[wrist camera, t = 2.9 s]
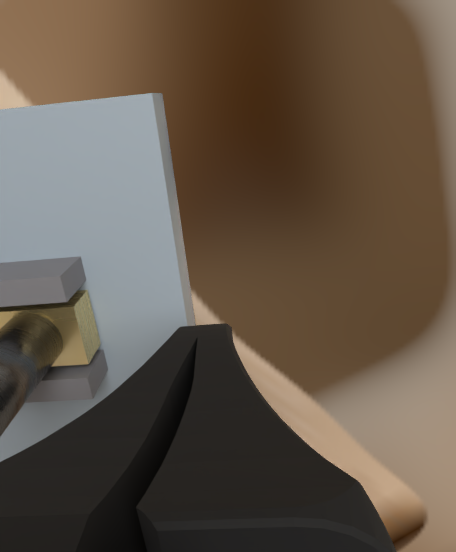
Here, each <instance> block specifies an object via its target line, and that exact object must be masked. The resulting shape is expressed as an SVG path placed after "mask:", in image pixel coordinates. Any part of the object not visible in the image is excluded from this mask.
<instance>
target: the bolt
mask: <svg viewBox="0 0 456 552" xmlns="http://www.w3.org/2000/svg"><path fill="white" fill-rule="evenodd" d="M100 344H101V343H100V339H99V335H98V331H97V327H96V322H95V318H94V314H93V310H92V306H91V302H90V298H89V294H88V290H78V291H76V292H75V294H74V295H73V296H72V297H71V298H70V299H69V300H68V302H62V303H49V304H35V305H21V306H7V307H0V437H1V435H2V434H3V432H4V431H5V430H6V428H7V427H8V426H9V424H10V423H11V421H12V420H13V419H14V417H15V416H16V415H17V413H18V412H19V410H20V409H21V408H22V406H23V405H24V403H25V402H26V401H27V399H28V398H29V397H30V395H31V394H32V392H33V391H34V390H35V388H36V387H37V385H38V384H39V383H40V381H41V380H42V379H43V377H44V376H45V374H46V373H47V372H48V370H49V369H50V368H51V366H67V365H84V364H89V363H90V361H91V359H92V358H93V356H94V354H95V352H96V351H97V349H98V347H99V346H100Z"/></svg>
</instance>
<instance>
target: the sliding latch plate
mask: <svg viewBox="0 0 456 552" xmlns="http://www.w3.org/2000/svg"><path fill="white" fill-rule="evenodd" d="M78 290H88V294H89V298H90V302H91V306H92V310H93V314H94V318H95V322H96V327H97V331H98V335H99V339H100V343H101V344H100V346H99V347H98V349H97V351H96V352H95V354H94V356H93V358H92V359H91V361H90V363H89V364H84V365H67V366H51V368H50V369H49V370H48V372H47V373H46V374H45V376H44V377H43V379H42V380H41V381H40V383H39V384H38V385H37V387H36V388H35V390H34V391H33V392H32V394H31V395H30V397H29V398H28V399H27V401H26V402H25V403H24V405H23V406H22V408H21V409H20V410H19V412H18V413H17V415H16V416H15V417H14V419H13V420H12V421H11V423H10V424H9V426H8V427H7V428H6V430H5V431H4V432H3V434H2V435H1V437H0V462H1V461H3V460H5V459H7V458H9V457H11V456H13V455H15V454H17V453H19V452H21V451H23V450H24V449H26V448H28V447H30V446H32V445H34V444H35V443H37V442H39V441H41V440H43V439H44V438H46V437H48V436H49V435H51V434H52V433H54V432H56V431H57V430H59V429H60V428H62V427H64V426H65V425H67V424H68V423H70V422H72V421H73V420H75V419H76V418H78V417H79V416H81V415H82V414H84V413H85V412H87V411H88V410H89V409H91V408H92V407H94V406H95V405H96V404H98V403H99V402H100V401H102V400H103V399H104V398H106V397H107V396H108V395H109V394H111V393H112V392H113V391H114V390H116V389H117V388H118V387H119V386H120V385H121V384H122V383H124V382H125V381H126V380H127V379H128V378H129V377H130V376H131V375H132V374H134V373H135V372H136V371H137V370H138V369H139V368H140V367H141V366H142V365H143V364H144V363H145V362H146V361H147V360H148V359H149V358H150V357H151V356H152V355H153V354H154V353H155V352H156V351H157V350H158V349H159V348H160V347H161V346H162V345H163V344H164V343H165V342H166V341H167V340H168V339H169V338H170V336H171V335H172V334H173V333H174V332H175V331H176V330H177V329H178V328H179V327H182V326H196V324H195V318H194V311H193V304H192V297H191V290H190V283H189V276H188V269H187V263H186V255H185V248H184V242H183V235H182V228H181V221H180V214H179V207H178V201H177V193H176V186H175V180H174V172H173V165H172V159H171V151H170V145H169V138H168V131H167V124H166V117H165V110H164V103H163V97H162V93H161V94H160V93H149V94H140V95H131V96H121V97H113V98H103V99H94V100H85V101H75V102H66V103H58V104H48V105H39V106H29V107H20V108H11V109H2V110H0V307H7V306H21V305H35V304H49V303H62V302H68V300H69V299H70V298H71V297H72V296H73V295H74V294H75V292H76V291H78Z"/></svg>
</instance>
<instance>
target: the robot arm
mask: <svg viewBox="0 0 456 552" xmlns="http://www.w3.org/2000/svg"><path fill="white" fill-rule="evenodd" d="M0 552H396V549H395V547H394V545H393V543H392V540H391V538H390V536H389V534H388V532H387V530H386V528H385V526H384V524H383V522H382V520H381V518H380V516H379V514H378V512H377V511H376V509H375V507H374V505H373V504H372V502H371V500H370V499H369V497H368V495H367V493H366V492H365V490H364V488H363V487H362V485H361V484H360V483H359V482H358V481H357V480H356V479H354V478H353V477H351V476H350V475H348V474H347V473H345V472H344V471H342V470H341V469H339V468H338V467H336V466H335V465H333V464H332V463H330V462H329V461H328V460H326V459H325V458H323V457H322V456H321V455H320V454H318V453H317V452H316V451H315V450H314V449H312V448H311V447H310V446H309V445H308V444H306V443H305V442H304V441H303V440H302V439H301V438H300V437H299V436H298V435H297V434H296V433H295V432H294V431H293V430H292V429H291V428H290V427H289V426H288V425H287V424H286V423H285V422H284V421H283V420H282V419H281V418H280V417H279V416H278V415H277V413H276V412H275V411H274V410H273V409H272V408H271V406H270V405H269V404H268V403H267V401H266V400H265V399H264V398H263V396H262V395H261V393H260V392H259V391H258V389H257V388H256V386H255V385H254V383H253V381H252V380H251V378H250V377H249V375H248V373H247V371H246V370H245V368H244V366H243V364H242V362H241V360H240V358H239V356H238V354H237V351H236V349H235V346H234V343H233V337H232V328H231V327H230V326H229V325H228V324H212V325H197V326H182V327H179V328H178V329H177V330H176V331H175V332H174V333H173V334H172V335H171V336H170V338H169V339H168V340H167V341H166V342H165V343H164V344H163V345H162V346H161V347H160V348H159V349H158V350H157V351H156V352H155V353H154V354H153V355H152V356H151V357H150V358H149V359H148V360H147V361H146V362H145V363H144V364H143V365H142V366H141V367H140V368H139V369H138V370H137V371H136V372H135V373H134V374H132V375H131V376H130V377H129V378H128V379H127V380H126V381H125V382H124V383H122V384H121V385H120V386H119V387H118V388H117V389H116V390H114V391H113V392H112V393H111V394H109V395H108V396H107V397H106V398H104V399H103V400H102V401H100V402H99V403H98V404H96V405H95V406H94V407H92V408H91V409H89V410H88V411H87V412H85V413H84V414H82V415H81V416H79V417H78V418H76V419H75V420H73V421H72V422H70V423H68V424H67V425H65V426H64V427H62V428H60V429H59V430H57V431H56V432H54V433H52V434H51V435H49V436H48V437H46V438H44V439H43V440H41V441H39V442H37V443H35V444H34V445H32V446H30V447H28V448H26V449H24V450H23V451H21V452H19V453H17V454H15V455H13V456H11V457H9V458H7V459H5V460H3V461H1V462H0Z"/></svg>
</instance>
